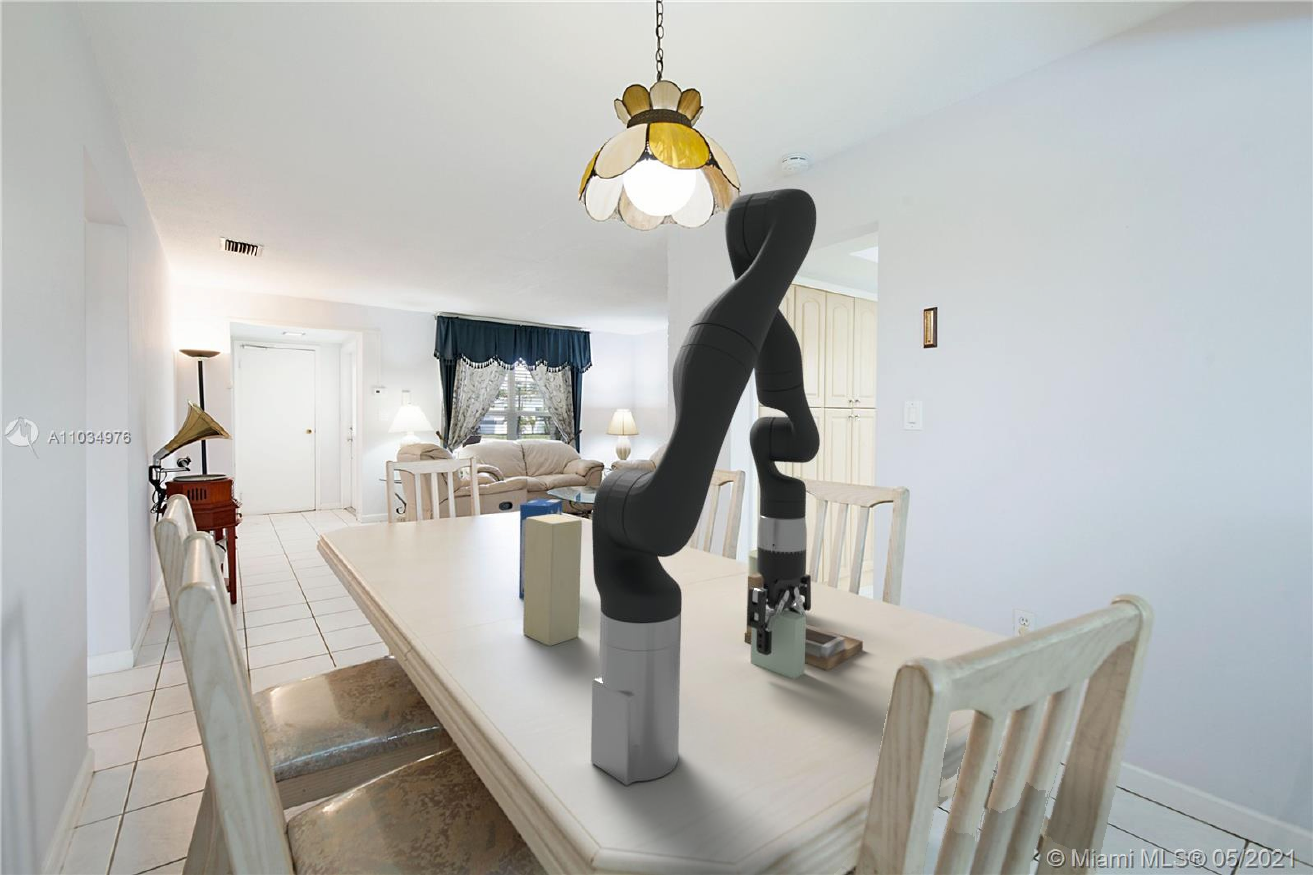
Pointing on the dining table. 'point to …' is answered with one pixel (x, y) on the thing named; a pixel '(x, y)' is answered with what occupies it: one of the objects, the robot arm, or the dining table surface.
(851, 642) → the track base
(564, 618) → the tall beige block
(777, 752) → the dining table surface
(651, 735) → the robot arm
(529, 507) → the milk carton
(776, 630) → the door panel
